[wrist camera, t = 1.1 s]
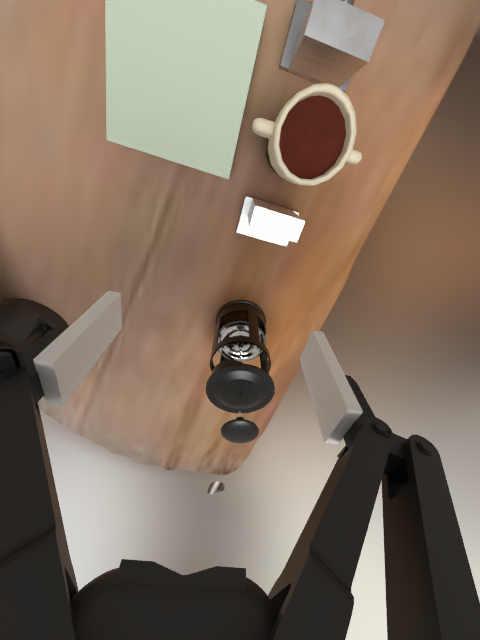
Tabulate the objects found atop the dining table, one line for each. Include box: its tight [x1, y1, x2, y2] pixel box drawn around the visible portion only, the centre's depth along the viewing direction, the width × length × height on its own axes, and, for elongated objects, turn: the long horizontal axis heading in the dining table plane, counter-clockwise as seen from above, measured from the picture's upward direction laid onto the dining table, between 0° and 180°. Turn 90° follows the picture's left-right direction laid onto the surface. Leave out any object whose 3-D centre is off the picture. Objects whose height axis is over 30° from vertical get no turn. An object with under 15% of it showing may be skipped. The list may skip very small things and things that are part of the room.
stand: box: [105, 0, 267, 179], centre depth 27 cm, size 15×15×4 cm
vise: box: [237, 0, 385, 247], centre depth 28 cm, size 8×25×9 cm, turn 164°
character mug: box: [252, 83, 362, 186], centre depth 26 cm, size 11×7×13 cm, turn 75°
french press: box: [206, 300, 275, 443], centre depth 36 cm, size 12×9×23 cm
